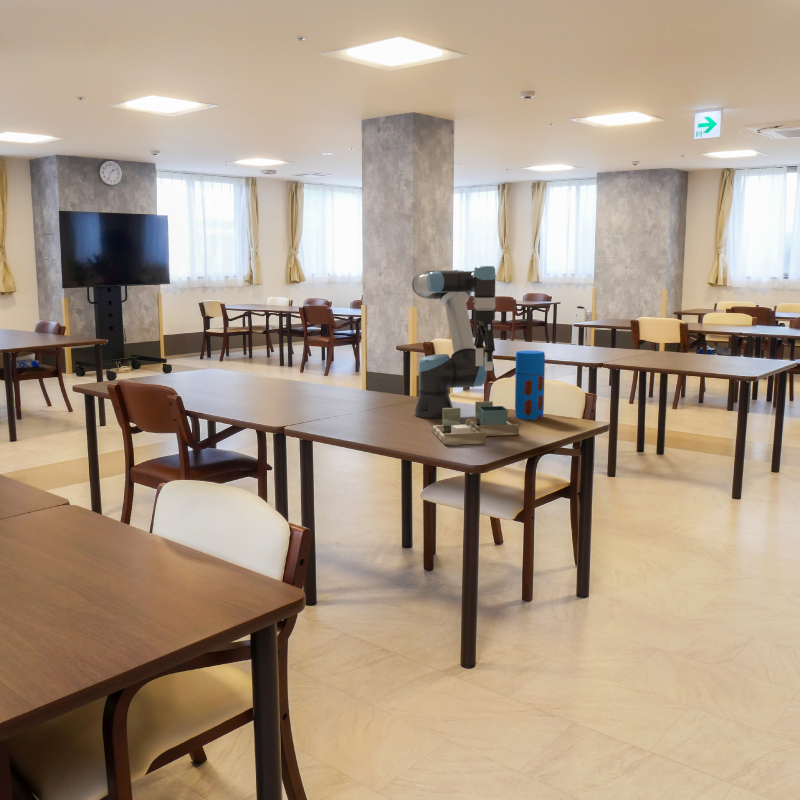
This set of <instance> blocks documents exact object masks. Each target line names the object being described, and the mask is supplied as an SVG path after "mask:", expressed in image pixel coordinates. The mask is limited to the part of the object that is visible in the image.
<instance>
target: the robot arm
mask: <svg viewBox="0 0 800 800" xmlns="http://www.w3.org/2000/svg"><path fill="white" fill-rule="evenodd" d="M496 277H497V274H496V268H495V266H494V265H477V266H475V267H474V270H470V271H469V270H467V271H465V270H458V269H454V270H425V271H422V272H419V273H417V274H416V275H414V277H413V279H412V282H411V283H412V284H411V287H412V288H411V289H412V290H413V292H414V293H415V294H416V295H418V296H419V297H421V298H425V299H428V300H440V304H441V305H442V306H444V308H445V312H446V318H447V322H448V327H449V332H450V339H451V344H452V345H451V346H452V350H453V351H452V352H453V353H452V354H451V356H450V355H449V354H448V353H441V354H440V353H439V354H432V355H426V356H423V357H421V358H420V360H419V362H418V398H417V401H416V404H415V408H414V416H416V417H419V418H427V419H443V408H454V407H453V404H452V400H451V398H450V389H451V388H453V389H454V388H455V389H456V388H475V387H482V386H483V385H484V384H485V383H486V380H487V374H488V371H494V370H493V369H494V368H493V367H494V364H493V363H494V352H495V351H496V348H495V347H496V346H495V338H494V331H493V330H494V328H493V327H494V325H493V323H491V322H492V321H495V319H496V310H495V309H496ZM472 293H473V296H474V299H473V300H472V304H473V303H474V304H473V306H474V307H473V308H474V309H475V310H473V319H474V321H476V322H475V323H476V324H475V325H476V326H475V327H476V328H475V336H473V332H472V327H471V322H470V321H471V320H470V317H469V312H468V311H469V309H468V305H467V303H468V301H469V298H470V297H471V295H472Z"/></svg>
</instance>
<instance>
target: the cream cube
mask: <svg viewBox="0 0 800 800" xmlns="http://www.w3.org/2000/svg"><path fill="white" fill-rule="evenodd" d="M450 433H471V427H469V426H467V425H453V426H451V431H450Z"/></svg>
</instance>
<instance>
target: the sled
mask: <svg viewBox="0 0 800 800" xmlns="http://www.w3.org/2000/svg"><path fill="white" fill-rule="evenodd" d="M453 425H467V426H469V427H471V433H451V426H453ZM431 432H432V433H433V434H434V435H435V436H436V437H437V438H438V440H440V442H441V443H442V444H444V445H445V446H448V445H449V446H451V445H452V446H453V445H471V444H472V445H475V444H486V437H487V436H486V433H485V432H479V431H477V430H476V429H475V428H474V427H473V426H471V425H470V424H465V423H463V424H462V423H461V407H453V408H443V418H442V424H436V425H435V424H434V425H431ZM444 432H445V433H444ZM446 432H447V433H446ZM448 432H450V433H448Z"/></svg>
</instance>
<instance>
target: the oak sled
mask: <svg viewBox="0 0 800 800" xmlns="http://www.w3.org/2000/svg"><path fill="white" fill-rule="evenodd" d="M474 403H475V409H474V410H475V412H474V414H475V417H465V418H464V420H465V421H464V424H470V425H471V426H473V427H474V428H475V429H476V430H477V431H479V432H485V433H486V437H494V436H515V435H517V436H519V434H520V432H519V431H520V429H519V428H520V424H519V423H511V422H509V421H508V420H507V423H506V425H481V423H480V418H479V406H494V402H493V401H492V400H489V401H475V402H474Z"/></svg>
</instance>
